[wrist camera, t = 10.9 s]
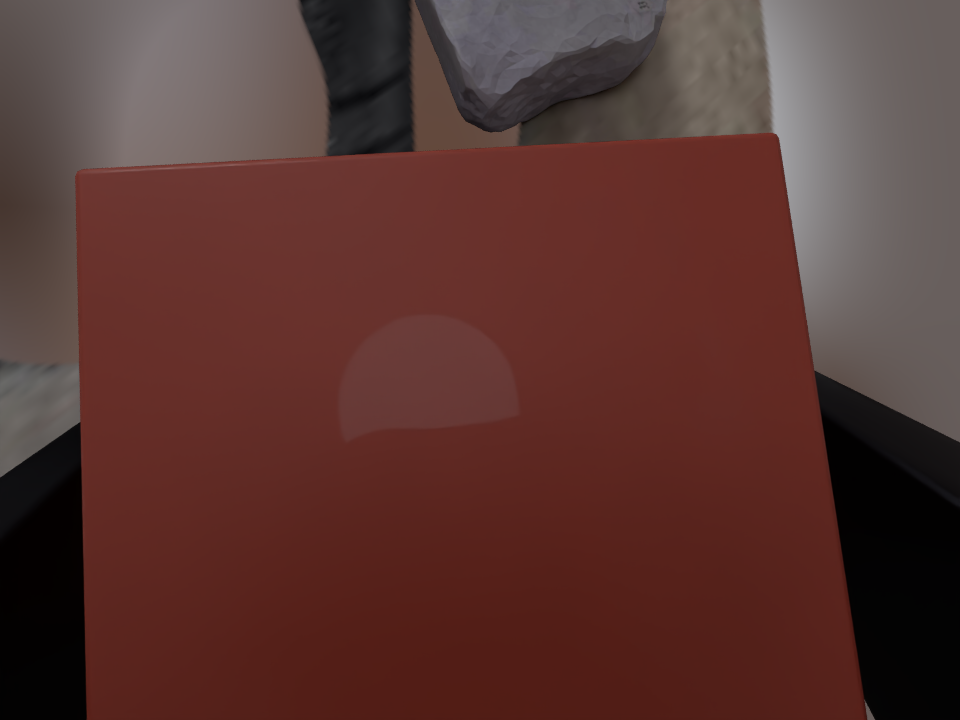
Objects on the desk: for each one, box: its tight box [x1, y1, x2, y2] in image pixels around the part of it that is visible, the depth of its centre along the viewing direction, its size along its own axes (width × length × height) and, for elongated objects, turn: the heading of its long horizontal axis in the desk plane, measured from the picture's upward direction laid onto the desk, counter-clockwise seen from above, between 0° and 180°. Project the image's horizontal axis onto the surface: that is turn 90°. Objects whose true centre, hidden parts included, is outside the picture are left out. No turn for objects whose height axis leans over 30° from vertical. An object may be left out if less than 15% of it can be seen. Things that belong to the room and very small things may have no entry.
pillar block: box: [75, 133, 867, 720], centre depth 10 cm, size 5×5×12 cm
